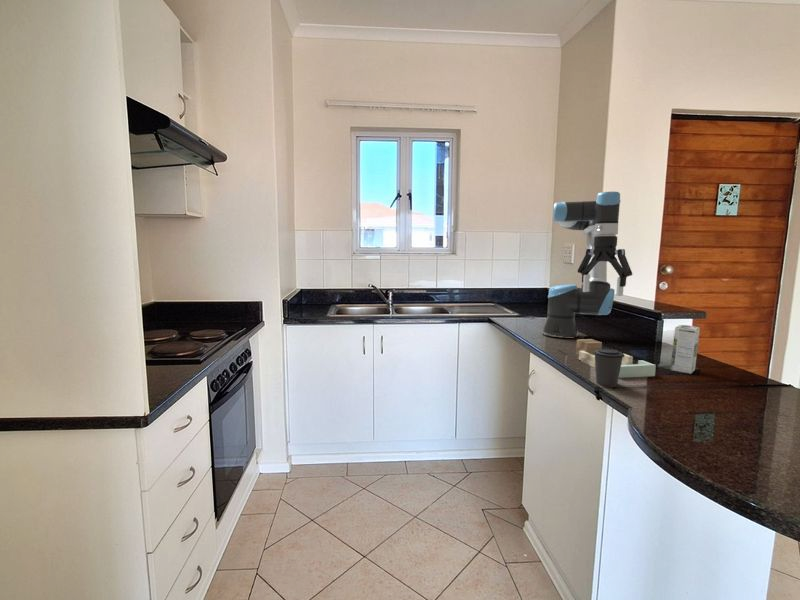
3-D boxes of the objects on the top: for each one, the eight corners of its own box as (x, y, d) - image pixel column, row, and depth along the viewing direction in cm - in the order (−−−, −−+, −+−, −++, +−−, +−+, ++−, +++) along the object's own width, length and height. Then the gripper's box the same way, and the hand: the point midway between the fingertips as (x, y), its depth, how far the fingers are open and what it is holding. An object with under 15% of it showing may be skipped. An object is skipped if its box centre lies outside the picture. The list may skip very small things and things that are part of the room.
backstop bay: (604, 372, 126) (605, 361, 126) (641, 370, 128) (642, 360, 128) (616, 377, 121) (617, 366, 120) (654, 376, 123) (655, 365, 122)
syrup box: (674, 367, 132) (678, 324, 131) (696, 370, 128) (700, 326, 126) (670, 370, 128) (674, 326, 127) (692, 374, 124) (696, 329, 122)
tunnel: (578, 360, 140) (578, 350, 140) (611, 359, 142) (612, 349, 142) (596, 368, 130) (597, 358, 130) (632, 367, 132) (632, 356, 132)
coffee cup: (629, 387, 112) (631, 353, 111) (603, 389, 111) (605, 354, 110) (609, 378, 120) (611, 346, 119) (585, 379, 119) (587, 347, 118)
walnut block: (575, 355, 147) (576, 339, 147) (590, 354, 148) (591, 339, 148) (585, 359, 142) (586, 343, 141) (601, 359, 142) (602, 342, 142)
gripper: (569, 236, 153) (566, 290, 156) (633, 234, 131) (628, 298, 134) (582, 236, 157) (579, 289, 160) (646, 235, 135) (641, 296, 138)
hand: (602, 293), depth 147 cm, fingers open, 13 cm apart
